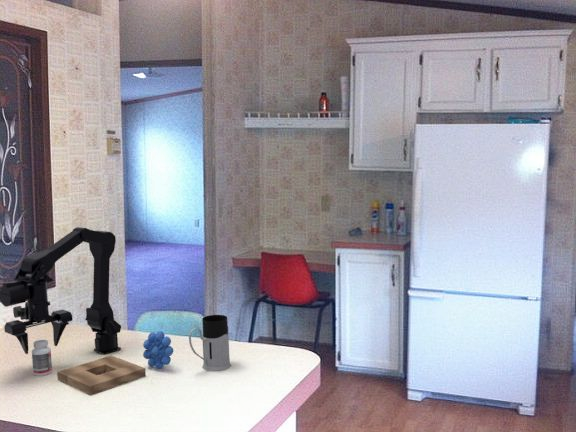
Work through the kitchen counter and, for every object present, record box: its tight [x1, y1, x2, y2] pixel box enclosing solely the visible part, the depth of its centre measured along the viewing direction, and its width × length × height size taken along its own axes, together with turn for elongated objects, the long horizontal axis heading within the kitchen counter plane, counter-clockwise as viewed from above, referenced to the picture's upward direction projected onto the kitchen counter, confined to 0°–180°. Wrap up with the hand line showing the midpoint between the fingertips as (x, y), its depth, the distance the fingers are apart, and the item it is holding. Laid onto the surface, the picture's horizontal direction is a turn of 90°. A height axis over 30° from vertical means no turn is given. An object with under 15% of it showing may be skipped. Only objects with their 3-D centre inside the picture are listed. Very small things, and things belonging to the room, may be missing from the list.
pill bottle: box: [31, 339, 53, 377], centre depth 197 cm, size 5×5×10 cm
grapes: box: [142, 330, 174, 370], centre depth 198 cm, size 12×7×12 cm, turn 58°
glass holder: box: [188, 314, 232, 372], centre depth 196 cm, size 9×14×15 cm, turn 137°
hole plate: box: [56, 355, 147, 396], centre depth 192 cm, size 18×18×2 cm
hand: (41, 349), depth 197 cm, fingers open, 9 cm apart
